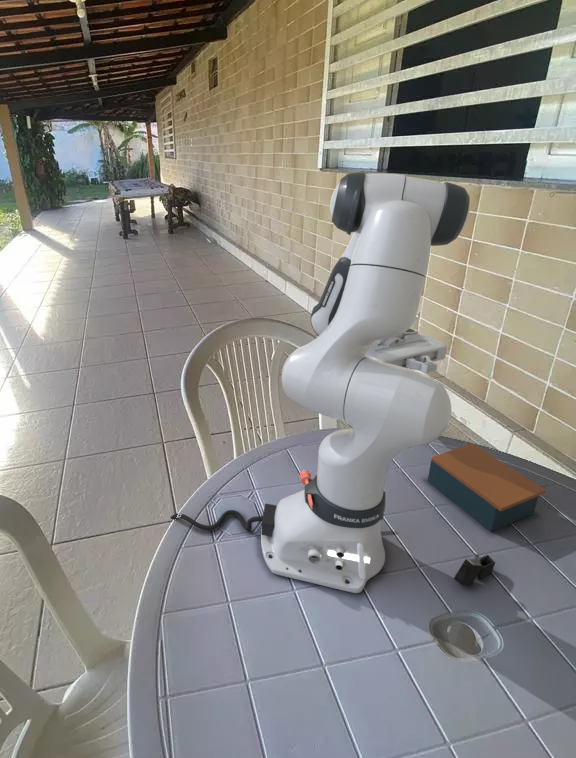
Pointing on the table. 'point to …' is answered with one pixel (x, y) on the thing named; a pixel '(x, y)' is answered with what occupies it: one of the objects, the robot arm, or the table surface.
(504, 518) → the case
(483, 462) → the cover
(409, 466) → the table surface
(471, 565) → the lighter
